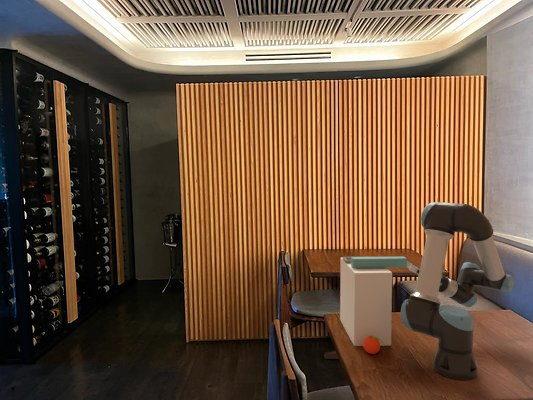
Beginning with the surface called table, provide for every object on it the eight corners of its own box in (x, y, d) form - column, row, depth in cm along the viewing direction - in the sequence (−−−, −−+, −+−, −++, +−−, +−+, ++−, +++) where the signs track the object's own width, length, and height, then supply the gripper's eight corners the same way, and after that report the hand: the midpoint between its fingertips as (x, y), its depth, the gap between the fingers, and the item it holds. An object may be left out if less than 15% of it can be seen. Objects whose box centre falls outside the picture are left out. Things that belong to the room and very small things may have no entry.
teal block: (403, 265, 184) (403, 256, 183) (406, 267, 180) (406, 258, 179) (351, 265, 183) (351, 257, 183) (353, 267, 179) (353, 259, 179)
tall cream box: (371, 319, 204) (372, 254, 201) (391, 345, 174) (392, 269, 172) (340, 319, 204) (340, 254, 201) (354, 346, 174) (354, 269, 171)
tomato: (382, 350, 169) (383, 334, 169) (383, 358, 163) (383, 341, 162) (363, 348, 171) (363, 332, 171) (362, 355, 165) (362, 339, 164)
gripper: (453, 301, 171) (410, 277, 170) (428, 284, 196) (390, 263, 195) (462, 286, 171) (419, 262, 169) (436, 271, 196) (398, 250, 194)
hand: (404, 263), depth 182 cm, fingers open, 13 cm apart
